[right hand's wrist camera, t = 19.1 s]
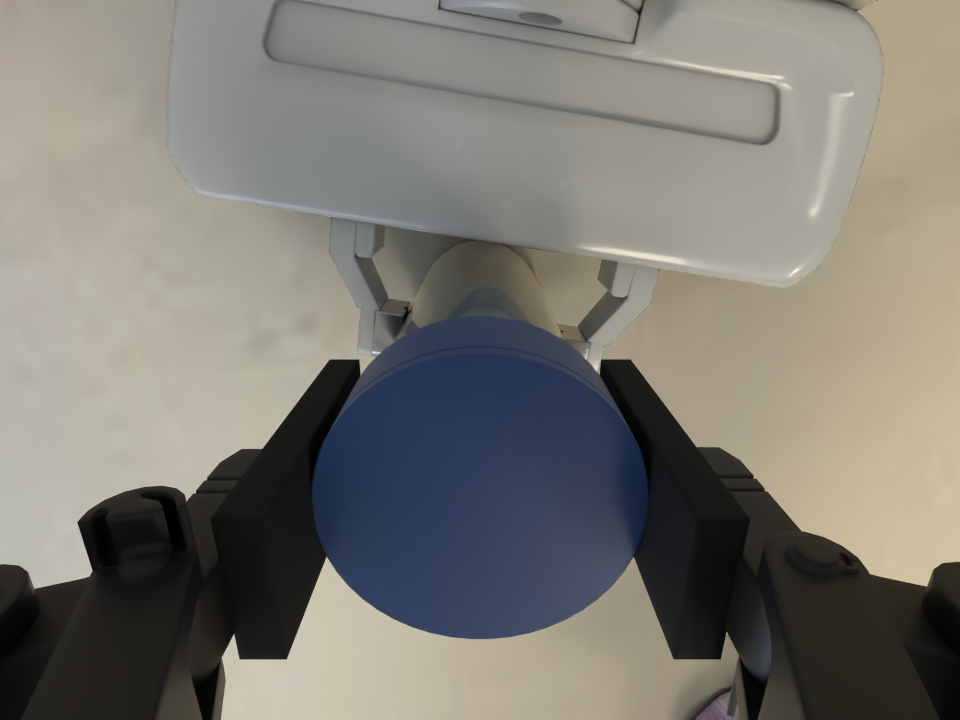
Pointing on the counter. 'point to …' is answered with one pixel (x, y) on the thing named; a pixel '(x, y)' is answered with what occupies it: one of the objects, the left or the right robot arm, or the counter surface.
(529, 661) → the counter surface
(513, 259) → the grey tall cylinder
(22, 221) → the counter surface
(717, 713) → the figurine
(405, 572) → the lid
